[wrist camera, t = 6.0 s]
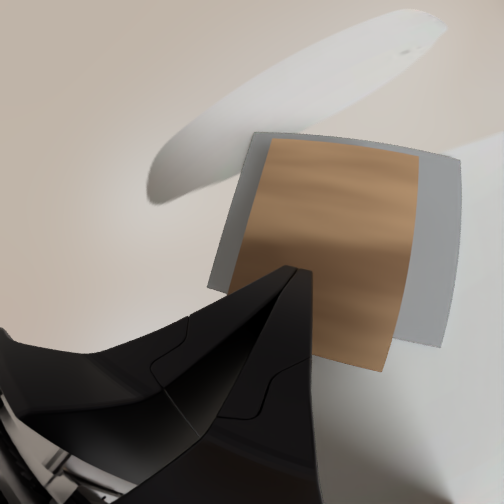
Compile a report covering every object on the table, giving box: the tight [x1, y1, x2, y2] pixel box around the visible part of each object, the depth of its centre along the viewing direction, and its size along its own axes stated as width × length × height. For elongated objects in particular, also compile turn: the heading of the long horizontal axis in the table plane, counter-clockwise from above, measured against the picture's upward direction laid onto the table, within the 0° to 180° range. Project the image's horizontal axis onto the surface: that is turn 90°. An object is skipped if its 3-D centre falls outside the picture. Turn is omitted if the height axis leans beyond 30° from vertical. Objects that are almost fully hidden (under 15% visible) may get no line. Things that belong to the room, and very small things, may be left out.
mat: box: [207, 132, 462, 348], centre depth 15 cm, size 11×14×1 cm
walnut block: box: [227, 138, 419, 372], centre depth 13 cm, size 4×7×9 cm
